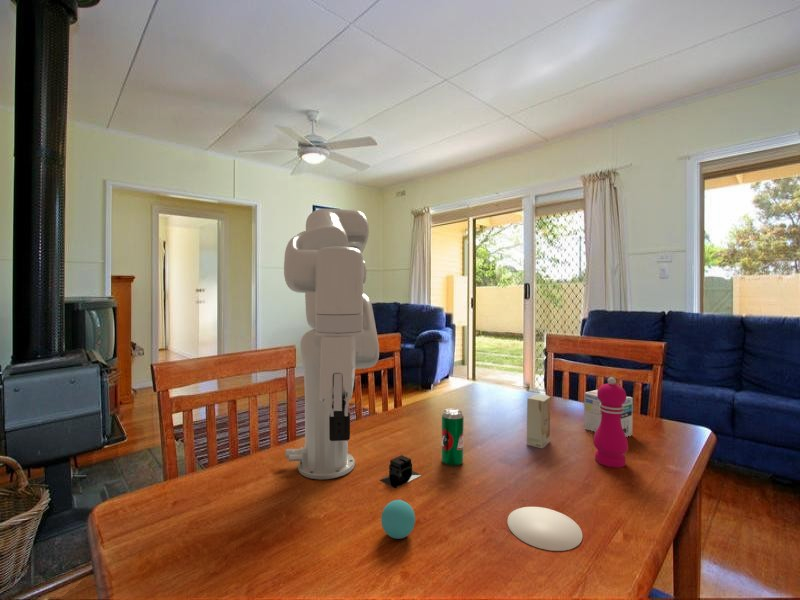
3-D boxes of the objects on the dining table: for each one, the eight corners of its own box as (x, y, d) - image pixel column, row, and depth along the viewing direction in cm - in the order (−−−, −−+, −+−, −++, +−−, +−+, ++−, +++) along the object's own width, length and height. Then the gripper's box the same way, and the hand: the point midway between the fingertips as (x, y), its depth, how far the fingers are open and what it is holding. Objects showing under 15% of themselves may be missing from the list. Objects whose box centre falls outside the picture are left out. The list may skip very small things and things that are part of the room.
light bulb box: (633, 435, 109) (634, 397, 109) (620, 441, 106) (621, 401, 105) (595, 424, 118) (596, 388, 118) (582, 429, 115) (583, 392, 114)
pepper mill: (631, 461, 93) (633, 377, 93) (623, 472, 88) (625, 382, 87) (598, 452, 98) (600, 372, 97) (588, 462, 93) (590, 377, 92)
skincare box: (542, 449, 100) (543, 401, 100) (525, 445, 103) (526, 398, 102) (550, 441, 105) (551, 395, 105) (534, 437, 108) (534, 393, 107)
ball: (381, 547, 62) (382, 512, 62) (380, 526, 68) (380, 494, 68) (417, 545, 63) (417, 511, 63) (412, 524, 68) (413, 492, 68)
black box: (391, 497, 78) (391, 474, 78) (367, 484, 83) (367, 463, 83) (431, 476, 87) (431, 455, 87) (407, 465, 92) (407, 446, 92)
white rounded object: (524, 553, 61) (524, 551, 61) (497, 509, 73) (497, 508, 73) (597, 548, 62) (597, 547, 62) (560, 506, 74) (560, 505, 74)
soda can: (462, 468, 90) (463, 415, 89) (440, 466, 91) (440, 414, 90) (463, 458, 95) (464, 408, 94) (442, 456, 96) (442, 407, 95)
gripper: (320, 321, 70) (321, 423, 71) (309, 330, 55) (309, 459, 56) (363, 321, 71) (363, 422, 72) (363, 329, 56) (363, 457, 57)
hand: (339, 438), depth 64 cm, fingers closed
